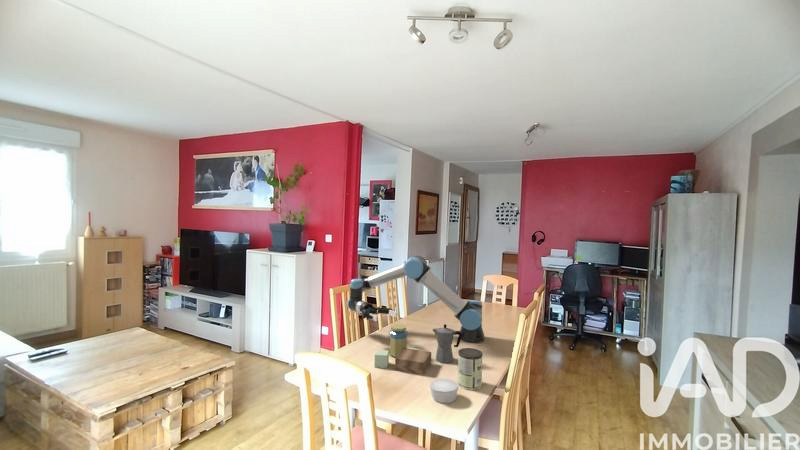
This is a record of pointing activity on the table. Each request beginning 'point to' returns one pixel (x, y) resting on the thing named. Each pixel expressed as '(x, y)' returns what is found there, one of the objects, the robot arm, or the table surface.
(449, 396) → the ramekin
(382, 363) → the sage cube
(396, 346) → the jar
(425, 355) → the walnut block
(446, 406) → the table surface
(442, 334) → the coffeepot
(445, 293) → the robot arm
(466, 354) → the coffee can
